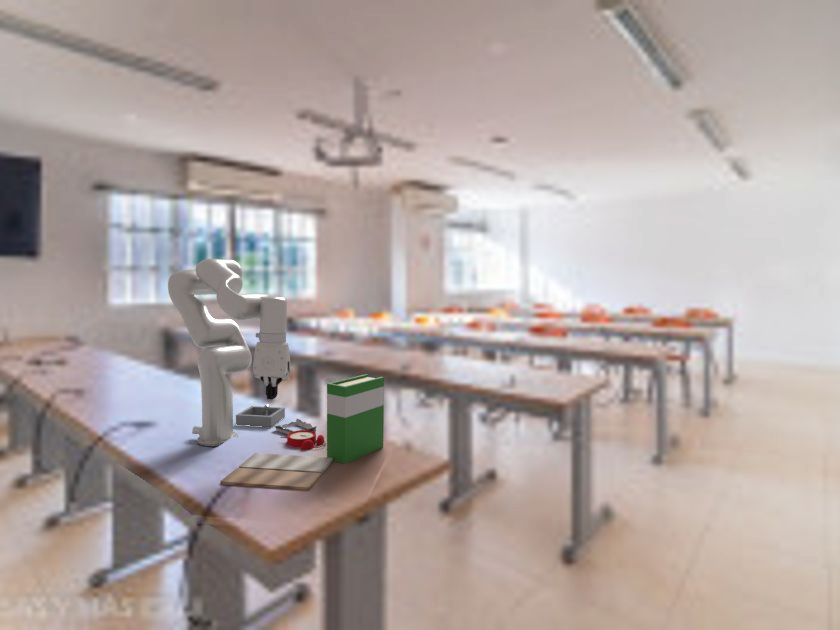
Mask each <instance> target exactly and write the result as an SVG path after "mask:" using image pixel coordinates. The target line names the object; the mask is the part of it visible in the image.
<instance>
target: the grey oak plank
mask: <svg viewBox="0 0 840 630" xmlns="http://www.w3.org/2000/svg"><path fill="white" fill-rule="evenodd" d="M333 461H334V460H333V458H328V457H327V456H324V457H323V456H309V455H292V454H275V453H259V452H254V453H253V454H252V455H251V456H250V457H248V458H247V459H245V461H244V462H242V463H241V464H240V465H239V466H238V468H247V469H263V470H278V471H294V472H309V473H321V475H324V472H325V471H326V470H327V469H328V467H330V465H331V464H332V463H333Z"/></svg>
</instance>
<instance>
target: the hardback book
mask: <svg viewBox="0 0 840 630" xmlns="http://www.w3.org/2000/svg"><path fill="white" fill-rule="evenodd" d="M384 400H385V377H384V376H379V377H376V378H375V377H370V376H369V374H368V373H365V374H361V375H358V376H353V377H349V378H345V379H341V380H337V381H336V380H335V381H332V382H328V383H326V457H328V458H333V461H335V462H337V463H342V464H344V465H346V464H348V463H350V462H352V461H355V460H357V459H359V458H361V457H364V456H366V455H368V454H370V453H372V452H374V451H378V450H379V449H381V448H384V426H385V425H384V413H385V412H384V409H385V401H384Z"/></svg>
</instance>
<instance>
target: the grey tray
mask: <svg viewBox="0 0 840 630" xmlns="http://www.w3.org/2000/svg"><path fill="white" fill-rule="evenodd" d="M267 411H269V412H271V413H272V414H271V413H268V415H270V416H266V413H265V412H266V410H265V409H264V406H260V405H259V406H256V405H255V406H254V405H251V406H249V407H247V408H246V409H244V410H242V411H240V412H238V414H236V415H235V425H236V424H237V425H250V426H262V427H261V428H268V427H272V426H273V427H274V426H276V425H277V424H279V421H280V420H281V419H282V418H284V417H285V418H286V414H285V413H286V407H280V406H279V407H277V406H269V409H268V410H267ZM263 413H264V414H265V415H263ZM285 418H284V419H285ZM282 420H283V419H282ZM282 420H281V421H282ZM281 421H280V422H281ZM276 423H277V424H276ZM275 424H276V425H275ZM250 426H249V427H250ZM273 427H272V428H273Z"/></svg>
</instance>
